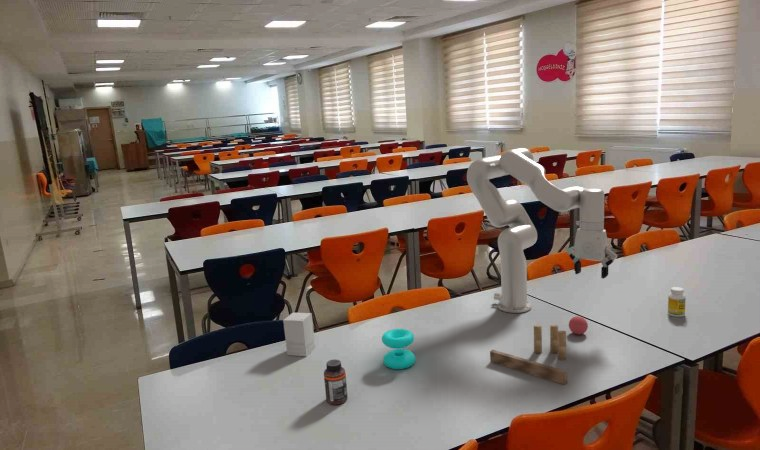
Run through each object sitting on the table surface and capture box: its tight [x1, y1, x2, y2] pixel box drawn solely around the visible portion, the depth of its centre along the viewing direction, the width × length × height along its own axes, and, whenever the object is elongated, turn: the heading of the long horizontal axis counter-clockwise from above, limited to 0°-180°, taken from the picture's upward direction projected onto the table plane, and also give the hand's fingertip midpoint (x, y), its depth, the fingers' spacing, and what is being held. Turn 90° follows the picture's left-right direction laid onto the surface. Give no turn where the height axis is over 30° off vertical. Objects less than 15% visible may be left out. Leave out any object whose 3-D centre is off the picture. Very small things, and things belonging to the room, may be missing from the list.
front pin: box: [549, 324, 559, 354], centre depth 171 cm, size 2×2×8 cm
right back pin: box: [557, 330, 567, 361], centre depth 166 cm, size 2×2×8 cm
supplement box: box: [282, 312, 316, 357], centre depth 183 cm, size 7×7×13 cm
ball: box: [568, 315, 589, 335], centre depth 183 cm, size 6×6×6 cm
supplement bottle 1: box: [323, 358, 348, 406], centre depth 150 cm, size 6×6×11 cm
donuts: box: [381, 328, 416, 370], centre depth 170 cm, size 10×10×10 cm
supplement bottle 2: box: [667, 286, 686, 318], centre depth 193 cm, size 5×5×10 cm
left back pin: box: [533, 324, 543, 354], centre depth 172 cm, size 2×2×8 cm
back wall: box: [489, 349, 568, 385], centre depth 160 cm, size 24×2×4 cm, turn 46°
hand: (590, 275), depth 186 cm, fingers open, 8 cm apart
